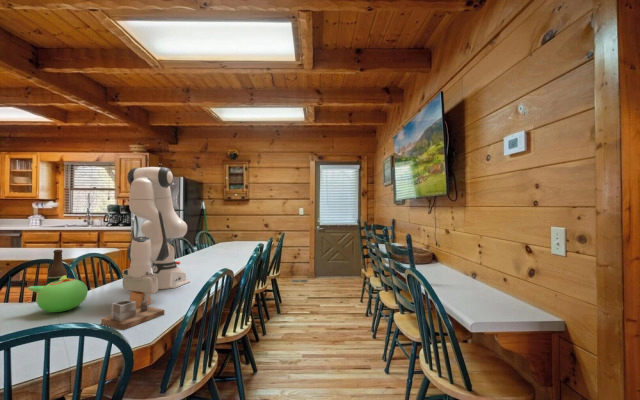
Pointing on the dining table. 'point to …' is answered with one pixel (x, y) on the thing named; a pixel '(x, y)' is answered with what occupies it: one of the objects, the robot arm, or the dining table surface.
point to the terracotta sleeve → (138, 298)
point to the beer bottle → (56, 267)
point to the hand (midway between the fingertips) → (140, 300)
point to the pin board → (130, 314)
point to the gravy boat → (60, 294)
